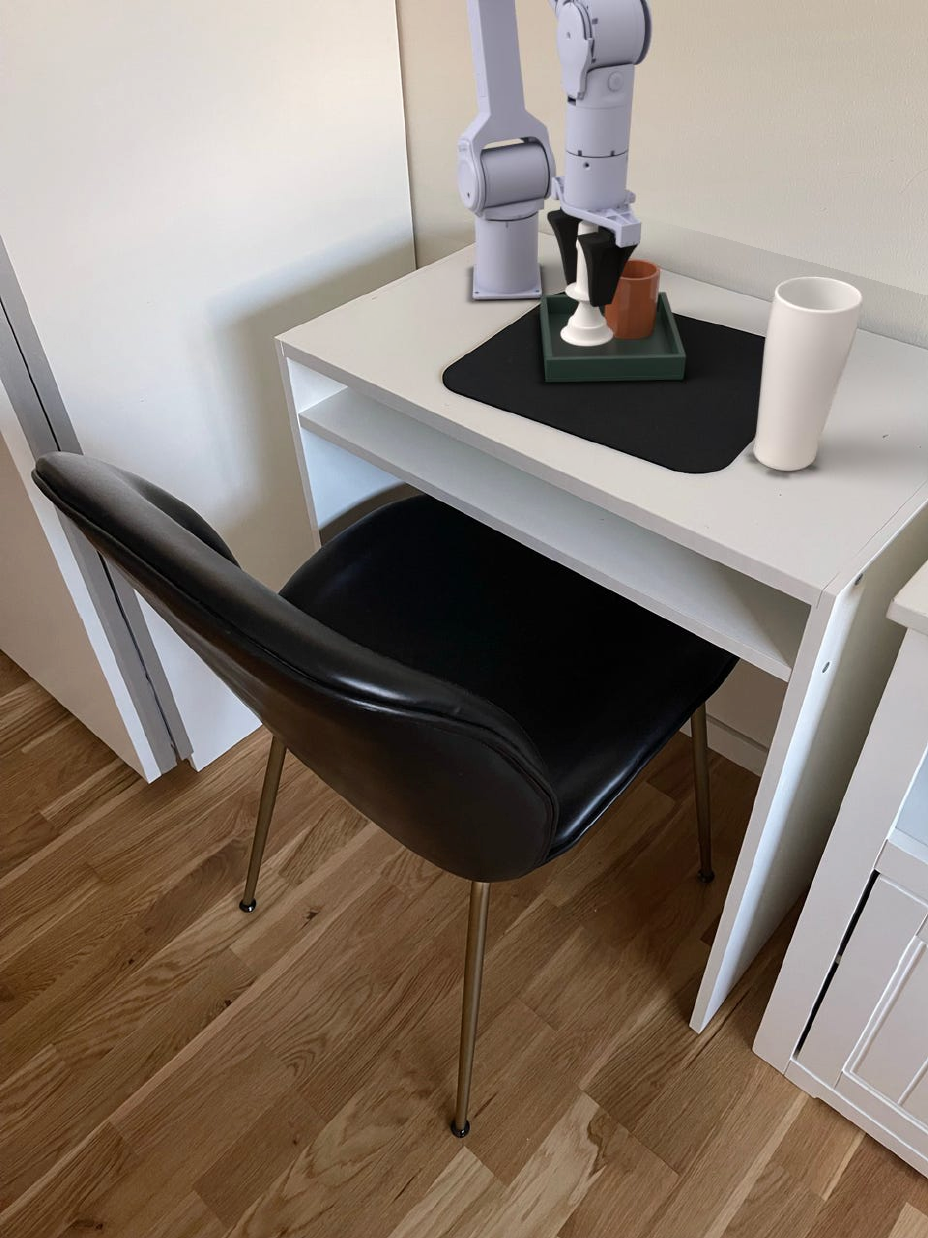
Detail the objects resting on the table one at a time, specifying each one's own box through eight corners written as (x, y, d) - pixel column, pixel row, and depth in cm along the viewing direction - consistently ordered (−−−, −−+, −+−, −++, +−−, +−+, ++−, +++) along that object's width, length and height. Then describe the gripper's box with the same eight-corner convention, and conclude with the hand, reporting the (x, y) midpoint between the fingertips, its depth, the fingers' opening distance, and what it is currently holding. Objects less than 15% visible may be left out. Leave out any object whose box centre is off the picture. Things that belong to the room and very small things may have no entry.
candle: (564, 322, 101) (568, 204, 93) (615, 325, 100) (624, 206, 92) (557, 345, 97) (561, 224, 89) (610, 348, 96) (619, 227, 88)
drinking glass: (737, 437, 88) (766, 276, 78) (812, 436, 87) (851, 274, 77) (751, 479, 83) (784, 312, 73) (831, 478, 82) (875, 310, 72)
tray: (540, 316, 108) (540, 294, 106) (663, 313, 107) (665, 291, 105) (545, 382, 96) (546, 359, 95) (683, 379, 96) (686, 356, 94)
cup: (601, 317, 106) (605, 259, 101) (650, 316, 105) (656, 258, 101) (605, 340, 102) (609, 280, 97) (657, 339, 101) (663, 279, 97)
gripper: (677, 164, 82) (661, 315, 91) (599, 121, 92) (592, 260, 101) (603, 176, 80) (594, 329, 90) (532, 131, 91) (531, 272, 100)
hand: (589, 294), depth 95 cm, fingers closed on candle, 5 cm apart
